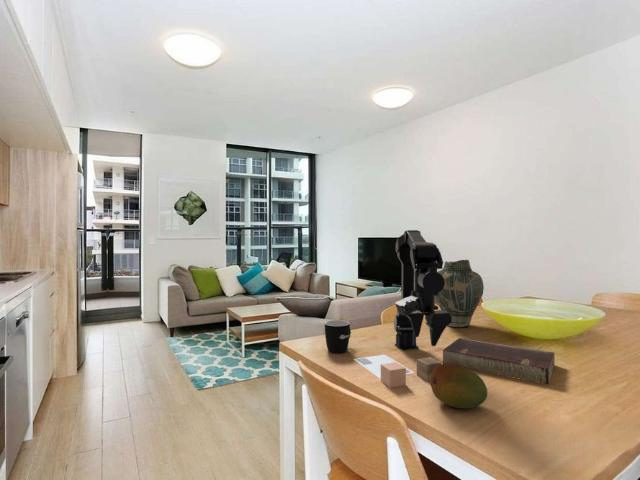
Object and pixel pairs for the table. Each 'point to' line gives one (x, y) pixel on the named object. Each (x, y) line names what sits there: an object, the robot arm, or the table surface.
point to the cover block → (393, 374)
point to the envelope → (377, 364)
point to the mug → (337, 335)
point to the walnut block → (426, 367)
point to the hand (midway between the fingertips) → (424, 341)
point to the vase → (460, 292)
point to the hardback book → (501, 359)
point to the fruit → (457, 386)
